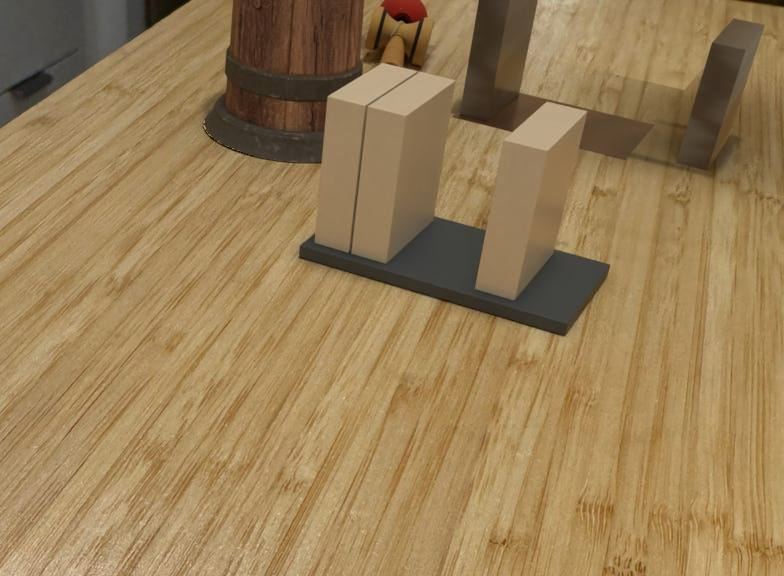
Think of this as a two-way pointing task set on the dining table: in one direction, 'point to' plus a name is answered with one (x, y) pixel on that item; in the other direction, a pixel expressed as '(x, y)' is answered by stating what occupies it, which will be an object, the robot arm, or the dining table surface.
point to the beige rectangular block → (529, 198)
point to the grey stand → (601, 130)
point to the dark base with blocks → (418, 205)
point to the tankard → (285, 75)
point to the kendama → (400, 31)
